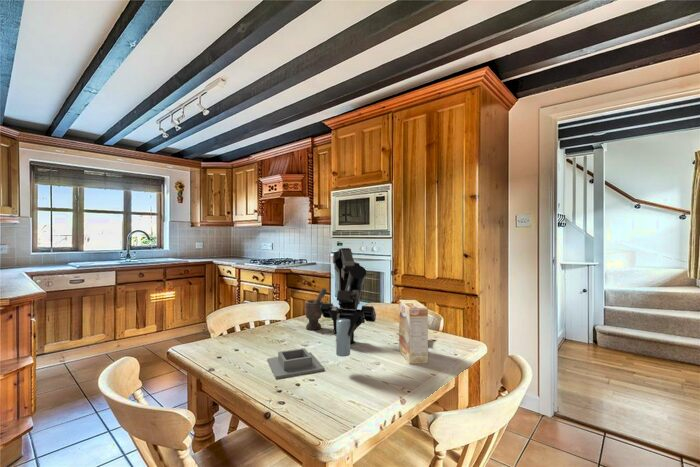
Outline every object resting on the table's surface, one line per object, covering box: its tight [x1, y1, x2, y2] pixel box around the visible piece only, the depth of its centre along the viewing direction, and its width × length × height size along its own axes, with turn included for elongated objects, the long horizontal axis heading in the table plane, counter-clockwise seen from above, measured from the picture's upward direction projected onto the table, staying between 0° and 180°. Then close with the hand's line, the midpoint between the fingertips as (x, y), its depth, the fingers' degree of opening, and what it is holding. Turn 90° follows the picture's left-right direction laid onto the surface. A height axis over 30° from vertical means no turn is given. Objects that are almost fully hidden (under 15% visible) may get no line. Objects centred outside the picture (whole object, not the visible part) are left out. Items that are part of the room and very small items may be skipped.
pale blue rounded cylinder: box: [335, 318, 351, 357], centre depth 105 cm, size 4×4×11 cm
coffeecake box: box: [398, 299, 429, 365], centre depth 120 cm, size 15×7×20 cm, turn 5°
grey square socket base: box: [266, 347, 325, 380], centre depth 110 cm, size 16×16×4 cm
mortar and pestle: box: [304, 287, 328, 331], centre depth 155 cm, size 12×9×20 cm
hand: (341, 334), depth 104 cm, fingers closed on pale blue rounded cylinder, 4 cm apart
